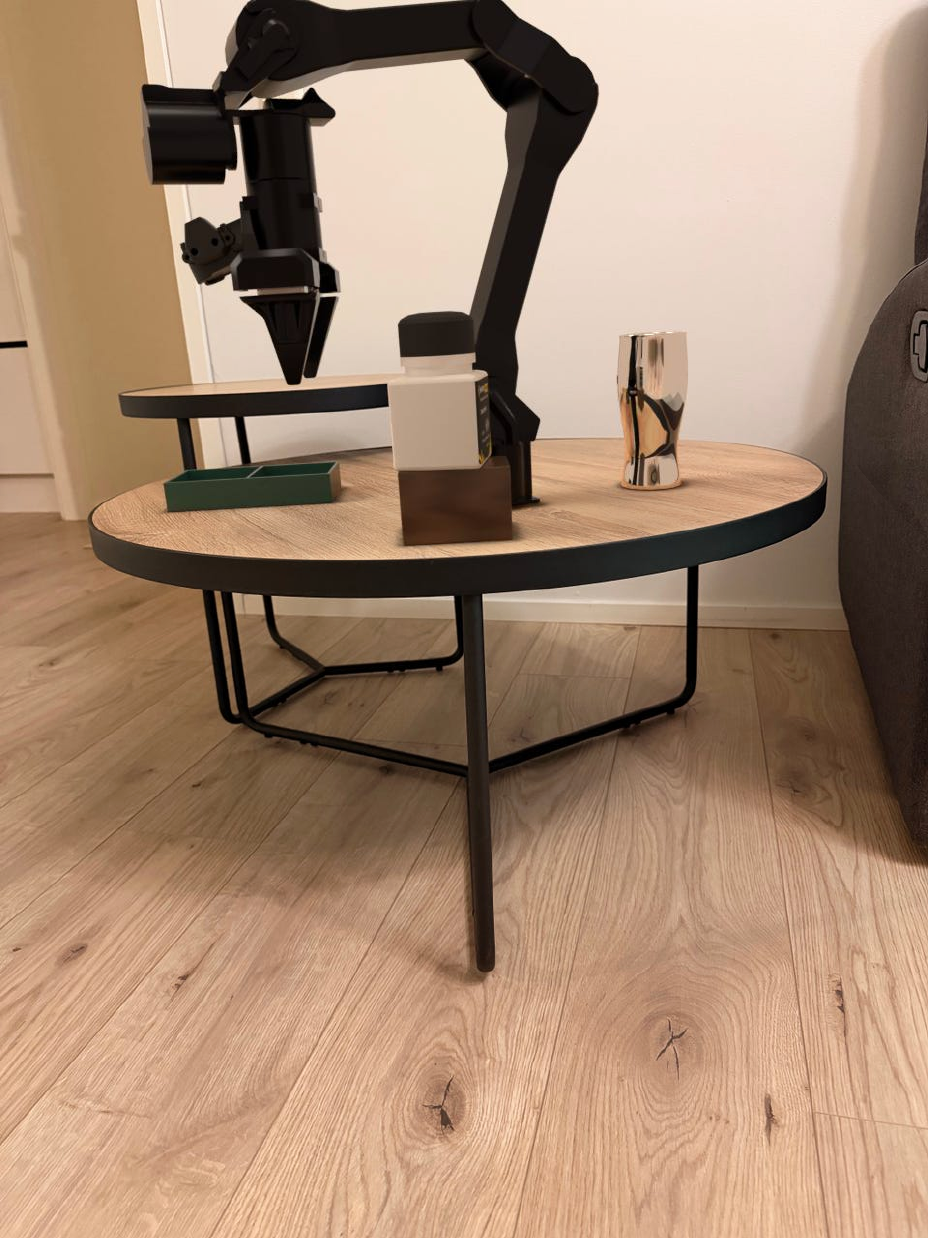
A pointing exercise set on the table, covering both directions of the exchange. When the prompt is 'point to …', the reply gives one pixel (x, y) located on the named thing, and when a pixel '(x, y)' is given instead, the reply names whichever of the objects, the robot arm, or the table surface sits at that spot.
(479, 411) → the medicine bottle
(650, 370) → the beer glass
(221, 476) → the divided tray
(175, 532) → the table surface
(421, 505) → the walnut stand
